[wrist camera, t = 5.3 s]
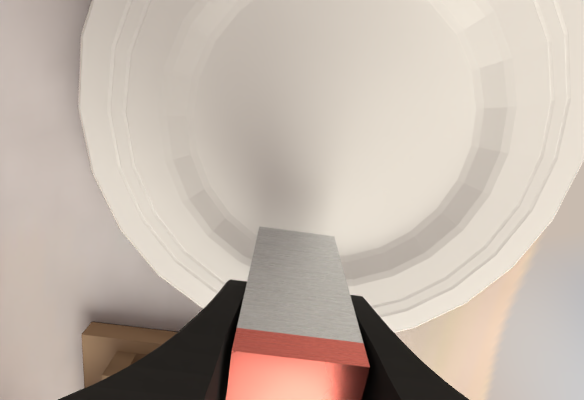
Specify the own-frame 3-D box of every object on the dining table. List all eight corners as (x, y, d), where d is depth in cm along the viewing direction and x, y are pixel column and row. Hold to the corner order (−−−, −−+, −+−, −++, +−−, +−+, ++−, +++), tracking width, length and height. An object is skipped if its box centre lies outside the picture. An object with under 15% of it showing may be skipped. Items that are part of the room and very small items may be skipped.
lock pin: (321, 300, 16) (343, 465, 9) (250, 291, 16) (219, 452, 9) (334, 236, 15) (369, 367, 8) (259, 226, 15) (231, 351, 8)
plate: (78, -203, 12) (42, -250, 11) (653, -126, 13) (709, -158, 11) (113, 302, 19) (94, 325, 17) (490, 336, 20) (510, 362, 18)
